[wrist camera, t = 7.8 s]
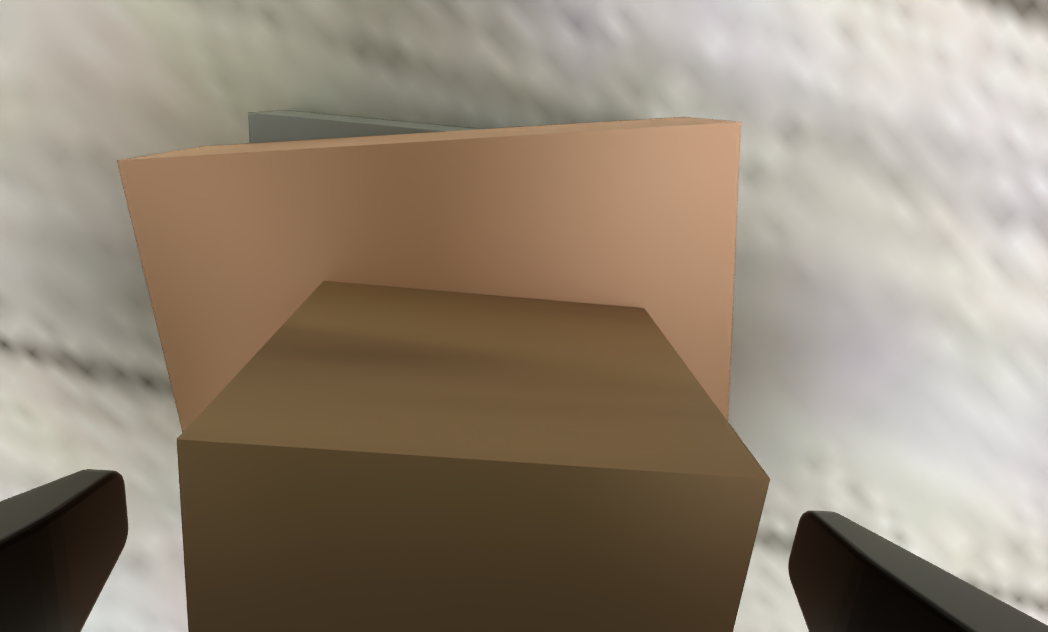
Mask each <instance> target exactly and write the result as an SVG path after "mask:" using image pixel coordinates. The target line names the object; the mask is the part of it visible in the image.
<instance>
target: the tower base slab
mask: <svg viewBox="0 0 1048 632" xmlns="http://www.w3.org/2000/svg"><path fill="white" fill-rule="evenodd" d="M461 130H477V128H467V127H457V126H446V125H436V124H425V123H415V122H404V121H394V120H384V119H373V118H363V117H352V116H342V115H331V114H321V113H311V112H300V111H290V110H281V111H265V112H249V140H250V143H265V142H282V141H298V140H314V139H331V138H347V137H363V136H380V135H396V134H412V133H428V132H445V131H461Z"/></svg>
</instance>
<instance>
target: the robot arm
mask: <svg viewBox="0 0 1048 632" xmlns="http://www.w3.org/2000/svg"><path fill="white" fill-rule="evenodd" d="M127 535H128V517H127V506H126V495H125V484H124V480H123V477H122V475H121V474H119V473H118V472H117V471H110V470H92V469H87V470H82V471H79V472H76V473H74V474H71V475H68V476H66V477H63V478H60V479H58V480H55V481H53V482H50V483H47V484H45V485H42V486H40V487H37V488H34V489H32V490H29V491H27V492H24V493H21V494H19V495H16V496H14V497H11V498H8V499H6V500H3V501H1V502H0V632H81V630H82V628H83V626H84V624H85V622H86V620H87V618H88V616H89V614H90V612H91V610H92V608H93V607H94V605H95V603H96V601H97V599H98V597H99V595H100V593H101V591H102V589H103V587H104V585H105V583H106V581H107V579H108V577H109V575H110V573H111V571H112V570H113V568H114V566H115V564H116V562H117V560H118V558H119V556H120V554H121V552H122V550H123V548H124V546H125V543H126V540H127ZM788 568H789V576H790V580H791V583H792V586H793V588H794V591H795V594H796V597H797V599H798V602H799V605H800V608H801V610H802V613H803V616H804V619H805V621H806V624H807V627H808V630H809V632H1048V626H1047V625H1045V624H1044V623H1042V622H1040V621H1038V620H1036V619H1034V618H1032V617H1030V616H1029V615H1027V614H1025V613H1023V612H1021V611H1019V610H1017V609H1016V608H1014V607H1012V606H1010V605H1008V604H1006V603H1004V602H1002V601H1001V600H999V599H997V598H995V597H993V596H991V595H989V594H987V593H986V592H984V591H982V590H980V589H978V588H976V587H974V586H973V585H971V584H969V583H967V582H965V581H963V580H961V579H959V578H958V577H956V576H954V575H952V574H950V573H948V572H946V571H945V570H943V569H941V568H939V567H937V566H935V565H933V564H931V563H930V562H928V561H926V560H924V559H922V558H920V557H918V556H916V555H915V554H913V553H911V552H909V551H907V550H905V549H903V548H902V547H900V546H898V545H896V544H894V543H892V542H890V541H888V540H887V539H885V538H883V537H881V536H879V535H877V534H875V533H873V532H872V531H870V530H868V529H866V528H864V527H862V526H860V525H859V524H857V523H855V522H853V521H851V520H849V519H847V518H845V517H844V516H842V515H840V514H838V513H835V512H829V511H807V512H805V513H804V514H803V515H802V516H801V518H800V520H799V524H798V527H797V531H796V535H795V539H794V542H793V546H792V550H791V554H790V558H789V566H788Z"/></svg>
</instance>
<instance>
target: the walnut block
mask: <svg viewBox="0 0 1048 632" xmlns="http://www.w3.org/2000/svg"><path fill="white" fill-rule="evenodd" d="M177 452H178V468H179V484H180V500H181V516H182V533H183V549H184V565H185V581H186V597H187V614H188V630H189V632H733V628H734V624H735V620H736V616H737V612H738V608H739V604H740V600H741V595H742V591H743V587H744V583H745V579H746V575H747V571H748V567H749V563H750V559H751V555H752V551H753V547H754V542H755V538H756V534H757V530H758V526H759V522H760V518H761V514H762V510H763V506H764V502H765V498H766V494H767V489H768V485H769V481H770V478H769V477H768V476H767V474H766V473H765V471H764V470H763V469H762V467H761V466H760V465H759V463H758V462H757V461H756V459H755V458H754V456H753V455H752V454H751V452H750V451H749V450H748V448H747V447H746V446H745V444H744V443H743V442H742V440H741V439H740V437H739V436H738V435H737V433H736V432H735V431H734V429H733V428H732V427H731V425H730V424H729V423H728V421H727V420H726V418H725V417H724V416H723V414H722V413H721V412H720V410H719V409H718V408H717V406H716V405H715V404H714V402H713V401H712V399H711V398H710V397H709V395H708V394H707V393H706V391H705V390H704V389H703V387H702V386H701V384H700V383H699V382H698V380H697V379H696V378H695V376H694V375H693V374H692V372H691V371H690V370H689V368H688V367H687V365H686V364H685V363H684V361H683V360H682V359H681V357H680V356H679V355H678V353H677V352H676V351H675V349H674V348H673V346H672V345H671V344H670V342H669V341H668V340H667V338H666V337H665V336H664V334H663V333H662V332H661V330H660V329H659V327H658V326H657V325H656V323H655V322H654V321H653V319H652V318H651V317H650V315H649V314H648V312H647V311H646V310H645V308H635V307H624V306H612V305H600V304H589V303H577V302H565V301H554V300H542V299H530V298H519V297H507V296H495V295H484V294H472V293H460V292H449V291H437V290H425V289H414V288H402V287H390V286H379V285H367V284H355V283H344V282H332V281H323V282H322V283H321V284H320V285H319V286H318V287H317V288H316V289H315V291H314V292H313V293H312V294H311V295H310V296H309V297H308V298H307V299H306V300H305V301H304V302H303V303H302V305H301V306H300V307H299V308H298V309H297V310H296V311H295V312H294V313H293V314H292V315H291V316H290V318H289V319H288V320H287V321H286V322H285V323H284V324H283V325H282V326H281V327H280V328H279V329H278V330H277V332H276V333H275V334H274V335H273V336H272V337H271V338H270V339H269V340H268V341H267V342H266V343H265V345H264V346H263V347H262V348H261V349H260V350H259V351H258V352H257V353H256V354H255V355H254V356H253V357H252V359H251V360H250V361H249V362H248V363H247V364H246V365H245V366H244V367H243V368H242V369H241V370H240V372H239V373H238V374H237V375H236V376H235V377H234V378H233V379H232V380H231V381H230V382H229V383H228V384H227V386H226V387H225V388H224V389H223V390H222V391H221V392H220V393H219V394H218V395H217V396H216V397H215V399H214V400H213V401H212V402H211V403H210V404H209V405H208V406H207V407H206V408H205V409H204V410H203V411H202V413H201V414H200V415H199V416H198V417H197V418H196V419H195V420H194V421H193V422H192V423H191V424H190V426H189V427H188V428H187V429H186V430H185V431H184V432H183V433H182V434H181V435H180V436H179V437H178V438H177Z"/></svg>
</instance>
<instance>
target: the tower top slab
mask: <svg viewBox="0 0 1048 632" xmlns="http://www.w3.org/2000/svg"><path fill="white" fill-rule="evenodd" d="M740 129H741V122H736V121H725V120H713V119H702V118H690V117H673V118H656V119H640V120H624V121H607V122H591V123H575V124H559V125H542V126H526V127H510V128H493V129H477V130H461V131H445V132H428V133H412V134H396V135H380V136H363V137H347V138H331V139H314V140H298V141H282V142H265V143H249V144H233V145H216V146H201V147H195V148H189V149H183V150H177V151H171V152H165V153H159V154H153V155H147V156H141V157H135V158H129V159H123V160H117V163H118V167H119V171H120V175H121V179H122V184H123V188H124V192H125V196H126V200H127V204H128V208H129V213H130V217H131V221H132V225H133V229H134V233H135V237H136V241H137V246H138V250H139V254H140V258H141V262H142V266H143V270H144V275H145V279H146V283H147V287H148V291H149V295H150V299H151V303H152V308H153V312H154V316H155V320H156V324H157V328H158V332H159V337H160V341H161V345H162V349H163V353H164V357H165V361H166V365H167V370H168V374H169V378H170V382H171V386H172V390H173V394H174V399H175V403H176V407H177V411H178V415H179V419H180V423H181V427H182V432H184V431H185V430H186V429H187V428H188V427H189V426H190V424H191V423H192V422H193V421H194V420H195V419H196V418H197V417H198V416H199V415H200V414H201V413H202V411H203V410H204V409H205V408H206V407H207V406H208V405H209V404H210V403H211V402H212V401H213V400H214V399H215V397H216V396H217V395H218V394H219V393H220V392H221V391H222V390H223V389H224V388H225V387H226V386H227V384H228V383H229V382H230V381H231V380H232V379H233V378H234V377H235V376H236V375H237V374H238V373H239V372H240V370H241V369H242V368H243V367H244V366H245V365H246V364H247V363H248V362H249V361H250V360H251V359H252V357H253V356H254V355H255V354H256V353H257V352H258V351H259V350H260V349H261V348H262V347H263V346H264V345H265V343H266V342H267V341H268V340H269V339H270V338H271V337H272V336H273V335H274V334H275V333H276V332H277V330H278V329H279V328H280V327H281V326H282V325H283V324H284V323H285V322H286V321H287V320H288V319H289V318H290V316H291V315H292V314H293V313H294V312H295V311H296V310H297V309H298V308H299V307H300V306H301V305H302V303H303V302H304V301H305V300H306V299H307V298H308V297H309V296H310V295H311V294H312V293H313V292H314V291H315V289H316V288H317V287H318V286H319V285H320V284H321V283H322V282H323V281H332V282H344V283H355V284H367V285H379V286H390V287H402V288H414V289H425V290H437V291H449V292H460V293H472V294H484V295H495V296H507V297H519V298H530V299H542V300H554V301H565V302H577V303H589V304H600V305H612V306H624V307H635V308H645V310H646V311H647V312H648V314H649V315H650V317H651V318H652V319H653V321H654V322H655V323H656V325H657V326H658V327H659V329H660V330H661V332H662V333H663V334H664V336H665V337H666V338H667V340H668V341H669V342H670V344H671V345H672V346H673V348H674V349H675V351H676V352H677V353H678V355H679V356H680V357H681V359H682V360H683V361H684V363H685V364H686V365H687V367H688V368H689V370H690V371H691V372H692V374H693V375H694V376H695V378H696V379H697V380H698V382H699V383H700V384H701V386H702V387H703V389H704V390H705V391H706V393H707V394H708V395H709V397H710V398H711V399H712V401H713V402H714V404H715V405H716V406H717V408H718V409H719V410H720V412H721V413H722V414H723V416H724V417H725V418H726V420H727V421H728V408H729V385H730V361H731V338H732V315H733V292H734V268H735V245H736V222H737V199H738V175H739V152H740Z"/></svg>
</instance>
